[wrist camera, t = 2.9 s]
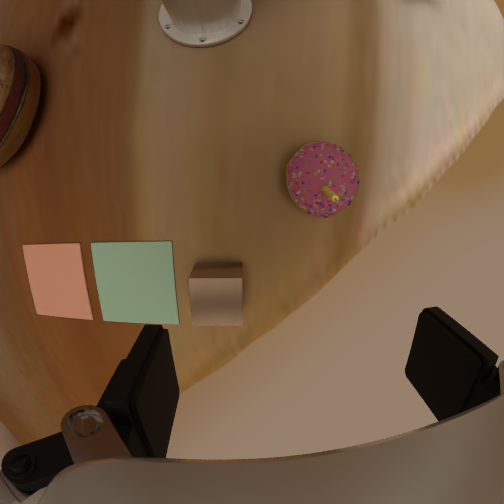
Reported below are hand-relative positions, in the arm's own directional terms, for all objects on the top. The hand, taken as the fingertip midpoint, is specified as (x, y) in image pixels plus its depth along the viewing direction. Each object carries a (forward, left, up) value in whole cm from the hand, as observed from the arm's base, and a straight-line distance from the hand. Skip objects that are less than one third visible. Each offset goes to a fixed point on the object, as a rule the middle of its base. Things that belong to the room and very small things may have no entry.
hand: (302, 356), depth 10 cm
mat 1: (+8, -31, -29) cm, 43 cm away
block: (+8, -5, -29) cm, 30 cm away
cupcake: (-6, +7, -29) cm, 30 cm away
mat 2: (+8, -17, -29) cm, 34 cm away
